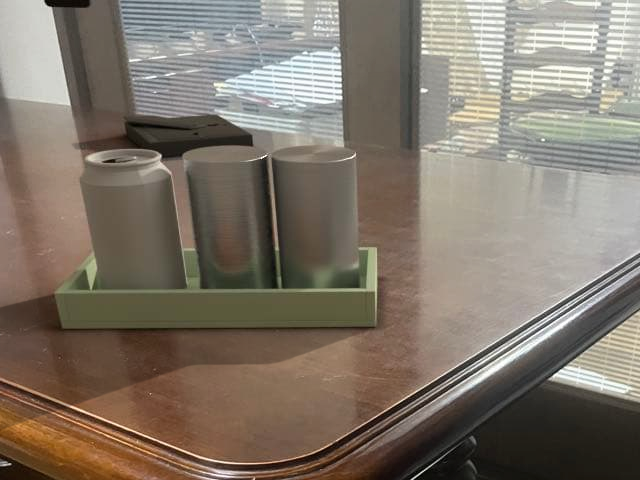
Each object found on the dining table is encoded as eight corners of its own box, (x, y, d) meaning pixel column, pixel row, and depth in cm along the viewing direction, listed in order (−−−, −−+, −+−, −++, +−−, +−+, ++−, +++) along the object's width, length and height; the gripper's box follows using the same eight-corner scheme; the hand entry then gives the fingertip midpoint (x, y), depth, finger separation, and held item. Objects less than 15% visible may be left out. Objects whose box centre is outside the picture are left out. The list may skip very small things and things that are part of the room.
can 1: (168, 277, 83) (147, 141, 76) (203, 299, 78) (183, 155, 71) (91, 293, 80) (61, 151, 73) (122, 317, 75) (94, 167, 68)
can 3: (278, 309, 76) (266, 162, 69) (286, 283, 82) (275, 145, 75) (359, 308, 76) (354, 162, 70) (360, 282, 82) (356, 145, 75)
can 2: (195, 309, 76) (174, 162, 69) (208, 283, 82) (190, 145, 75) (275, 309, 76) (262, 162, 69) (283, 283, 82) (272, 145, 75)
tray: (62, 329, 74) (53, 293, 72) (101, 280, 84) (95, 248, 83) (376, 327, 74) (375, 291, 73) (377, 279, 85) (376, 247, 83)
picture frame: (126, 135, 147) (152, 158, 131) (123, 116, 145) (149, 137, 130) (218, 127, 152) (253, 149, 137) (216, 109, 151) (251, 129, 135)
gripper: (27, -282, 64) (72, -6, 73) (-78, -344, 49) (-4, 9, 59) (130, -278, 64) (162, -3, 74) (56, -339, 50) (107, 12, 59)
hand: (88, 2), depth 66 cm, fingers open, 9 cm apart
